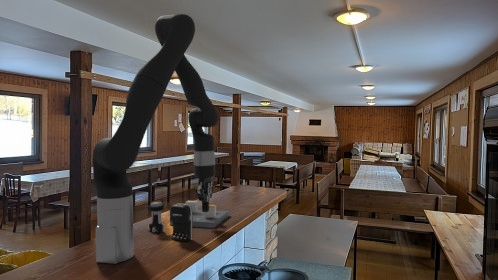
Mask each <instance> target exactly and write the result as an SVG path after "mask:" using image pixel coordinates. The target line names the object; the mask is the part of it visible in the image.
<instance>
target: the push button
mask: <svg viewBox="0 0 498 280" xmlns="http://www.w3.org/2000/svg"><path fill="white" fill-rule="evenodd" d="M164 207H165V204H162V201H152V202H151V203H150V204H149V205H148V207H147V208H148V210H149V212H151V223H149V224H148V225H147V227H148V228H147V230H149V232H151V233H157V234H160V233H163V232H164V224H163V223H162V212H163V211H164Z"/></svg>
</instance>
